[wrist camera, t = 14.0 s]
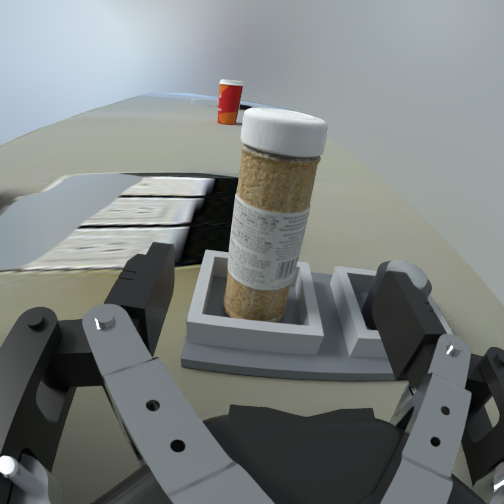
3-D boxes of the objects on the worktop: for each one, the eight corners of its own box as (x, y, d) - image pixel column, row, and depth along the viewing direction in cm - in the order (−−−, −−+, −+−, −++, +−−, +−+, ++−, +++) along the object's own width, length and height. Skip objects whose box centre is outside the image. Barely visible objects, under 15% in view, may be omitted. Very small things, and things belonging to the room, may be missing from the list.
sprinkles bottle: (261, 283, 26) (291, 108, 19) (298, 318, 23) (346, 125, 16) (209, 298, 23) (228, 103, 16) (244, 340, 20) (281, 118, 13)
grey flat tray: (181, 366, 19) (180, 301, 16) (205, 267, 28) (209, 211, 25) (452, 376, 20) (488, 325, 17) (408, 290, 29) (428, 243, 26)
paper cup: (221, 120, 100) (226, 79, 93) (242, 124, 98) (248, 82, 91) (209, 122, 94) (214, 78, 87) (231, 126, 92) (237, 81, 85)
